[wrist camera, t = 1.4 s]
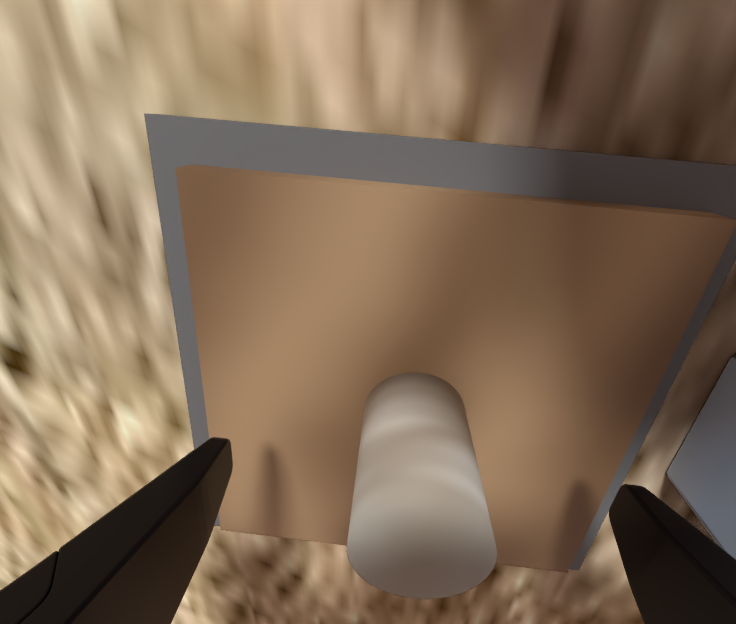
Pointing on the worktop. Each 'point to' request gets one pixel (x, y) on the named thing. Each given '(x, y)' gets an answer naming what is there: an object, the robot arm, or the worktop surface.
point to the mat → (436, 169)
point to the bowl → (712, 463)
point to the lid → (430, 361)
